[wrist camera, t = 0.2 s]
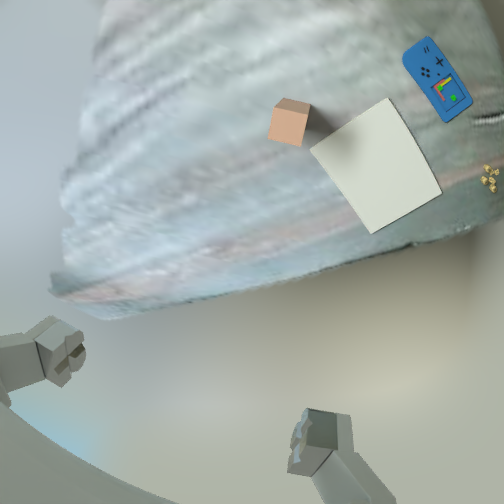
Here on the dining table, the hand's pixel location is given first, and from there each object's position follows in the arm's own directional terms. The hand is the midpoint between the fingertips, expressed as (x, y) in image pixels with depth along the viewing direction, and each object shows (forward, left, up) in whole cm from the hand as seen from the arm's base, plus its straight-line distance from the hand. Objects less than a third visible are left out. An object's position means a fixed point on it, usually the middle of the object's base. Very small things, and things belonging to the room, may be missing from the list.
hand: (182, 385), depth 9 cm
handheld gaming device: (-26, +9, -52) cm, 59 cm away
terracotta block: (+1, 0, -52) cm, 52 cm away
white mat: (-6, +18, -52) cm, 55 cm away
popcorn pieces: (-27, +32, -52) cm, 67 cm away
